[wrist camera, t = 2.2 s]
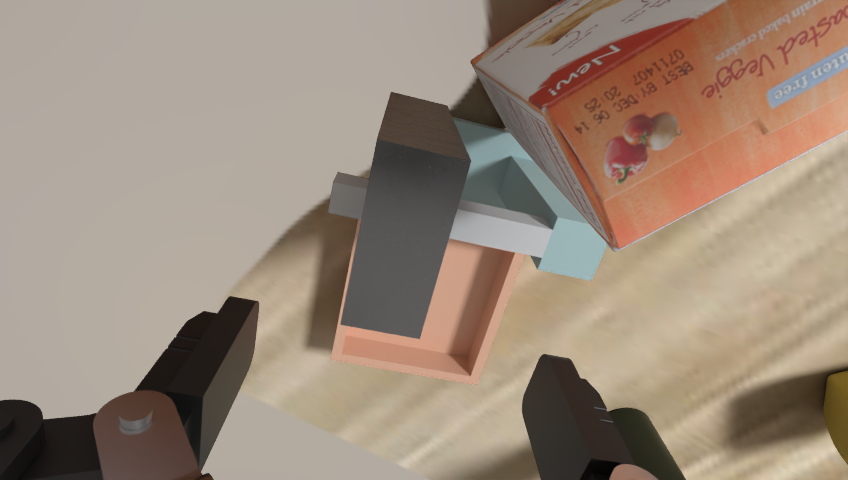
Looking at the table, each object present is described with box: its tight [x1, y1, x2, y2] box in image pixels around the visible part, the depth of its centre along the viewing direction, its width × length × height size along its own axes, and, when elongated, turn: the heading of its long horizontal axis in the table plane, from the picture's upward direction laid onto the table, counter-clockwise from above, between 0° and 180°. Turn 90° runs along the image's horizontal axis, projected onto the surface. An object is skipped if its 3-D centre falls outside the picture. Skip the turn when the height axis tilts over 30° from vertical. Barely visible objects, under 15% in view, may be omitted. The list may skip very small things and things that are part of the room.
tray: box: [331, 219, 525, 385], centre depth 38 cm, size 14×13×3 cm
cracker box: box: [471, 0, 848, 252], centre depth 22 cm, size 14×6×21 cm, turn 122°
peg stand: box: [328, 117, 608, 281], centre depth 29 cm, size 6×14×13 cm, turn 76°
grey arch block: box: [340, 92, 471, 339], centre depth 25 cm, size 8×4×13 cm, turn 166°
